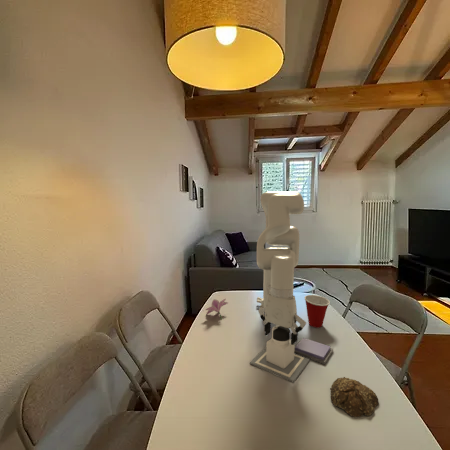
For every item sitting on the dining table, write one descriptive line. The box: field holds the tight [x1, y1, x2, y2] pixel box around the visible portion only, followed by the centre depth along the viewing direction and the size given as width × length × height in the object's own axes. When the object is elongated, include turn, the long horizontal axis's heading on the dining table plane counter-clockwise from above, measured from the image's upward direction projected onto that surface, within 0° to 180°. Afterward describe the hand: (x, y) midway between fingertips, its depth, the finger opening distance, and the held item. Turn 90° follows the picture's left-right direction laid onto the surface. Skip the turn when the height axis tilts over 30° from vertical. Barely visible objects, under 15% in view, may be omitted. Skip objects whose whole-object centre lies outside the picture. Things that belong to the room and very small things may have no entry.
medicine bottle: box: [266, 324, 296, 369], centre depth 96 cm, size 7×7×12 cm
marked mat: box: [249, 346, 311, 383], centre depth 97 cm, size 16×14×1 cm
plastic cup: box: [304, 294, 331, 329], centre depth 124 cm, size 11×11×12 cm
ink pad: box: [294, 337, 334, 365], centre depth 103 cm, size 12×10×2 cm
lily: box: [205, 298, 229, 320], centre depth 132 cm, size 12×12×10 cm
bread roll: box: [329, 376, 379, 418], centre depth 79 cm, size 13×12×5 cm
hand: (280, 338), depth 97 cm, fingers open, 9 cm apart
